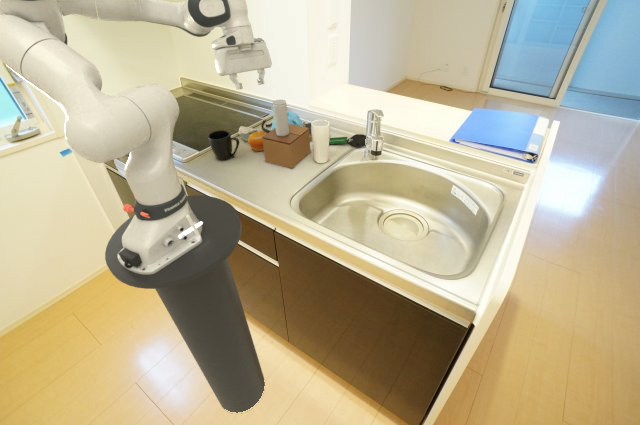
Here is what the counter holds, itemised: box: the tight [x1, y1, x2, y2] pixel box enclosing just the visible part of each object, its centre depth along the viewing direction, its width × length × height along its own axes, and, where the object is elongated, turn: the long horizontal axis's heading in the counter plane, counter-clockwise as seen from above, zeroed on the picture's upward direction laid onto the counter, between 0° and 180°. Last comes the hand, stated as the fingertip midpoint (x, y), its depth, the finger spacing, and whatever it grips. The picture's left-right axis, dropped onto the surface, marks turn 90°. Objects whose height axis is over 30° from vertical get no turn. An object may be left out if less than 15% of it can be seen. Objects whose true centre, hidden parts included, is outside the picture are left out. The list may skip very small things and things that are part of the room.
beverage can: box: [272, 99, 289, 137], centre depth 112 cm, size 5×5×12 cm
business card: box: [329, 136, 349, 145], centre depth 131 cm, size 9×1×5 cm
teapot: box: [270, 106, 303, 131], centre depth 135 cm, size 13×11×18 cm
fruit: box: [247, 130, 267, 152], centre depth 127 cm, size 8×8×8 cm
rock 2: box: [346, 133, 367, 148], centre depth 129 cm, size 9×7×5 cm
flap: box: [262, 129, 300, 144], centre depth 115 cm, size 7×12×1 cm, turn 62°
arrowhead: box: [238, 125, 257, 135], centre depth 141 cm, size 8×2×10 cm
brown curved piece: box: [261, 119, 273, 133], centre depth 144 cm, size 13×5×10 cm
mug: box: [207, 129, 240, 161], centre depth 121 cm, size 8×12×10 cm
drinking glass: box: [310, 119, 331, 164], centre depth 116 cm, size 7×7×15 cm
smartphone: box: [305, 122, 312, 136], centre depth 141 cm, size 7×1×15 cm
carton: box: [262, 124, 311, 169], centre depth 120 cm, size 14×12×10 cm
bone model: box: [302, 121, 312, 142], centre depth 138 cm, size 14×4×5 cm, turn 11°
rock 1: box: [239, 133, 252, 142], centre depth 135 cm, size 9×2×5 cm
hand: (250, 86), depth 104 cm, fingers open, 8 cm apart
